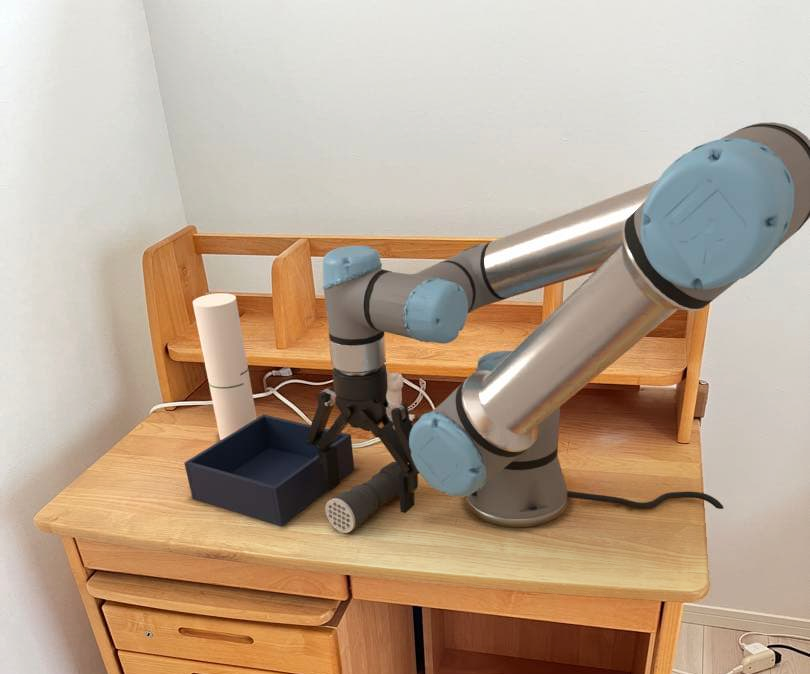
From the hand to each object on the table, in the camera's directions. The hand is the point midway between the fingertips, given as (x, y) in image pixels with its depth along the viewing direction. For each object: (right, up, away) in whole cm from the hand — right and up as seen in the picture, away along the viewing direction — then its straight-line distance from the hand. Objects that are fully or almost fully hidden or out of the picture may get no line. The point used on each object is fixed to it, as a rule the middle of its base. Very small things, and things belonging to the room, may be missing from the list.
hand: (369, 497), depth 125 cm
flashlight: (0, -2, +1) cm, 2 cm away
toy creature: (+4, +15, +26) cm, 30 cm away
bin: (-16, +3, +10) cm, 19 cm away
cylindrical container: (-25, +13, +26) cm, 38 cm away
